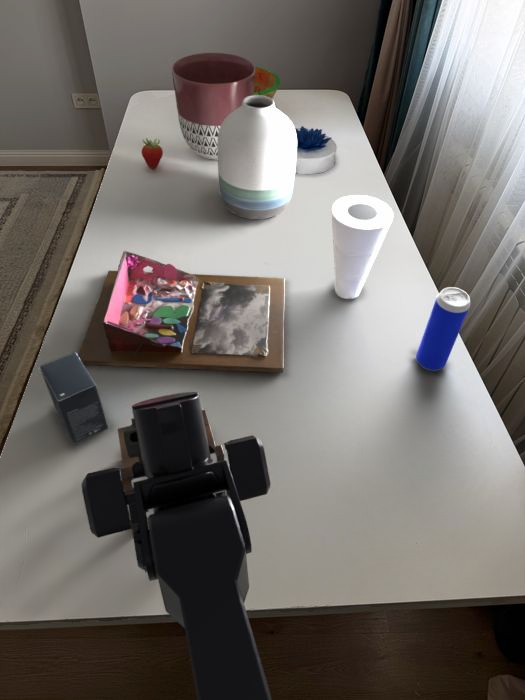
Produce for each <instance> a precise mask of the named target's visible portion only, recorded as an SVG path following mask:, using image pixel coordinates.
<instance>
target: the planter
mask: <svg viewBox="0 0 525 700" xmlns="http://www.w3.org/2000/svg"><path fill="white" fill-rule="evenodd" d="M171 73H172V74H171V75H172V83H173V88H174V95H175V105H176V111H177V117H178V123H179V128H180V131H181V134H182V137H183V139H184V140H185V143H186V144H187V145H188V146H189V148H190V149H191V150H192V151H193V152H195V153H196V154H197V155H199V156H200V157H202V158H204V159H205V158H206V159H209V160H217V161H218V133H219V130H220V127H221V124H222V122H223V121H224V119H225V118H226V117H227V116H228V115H229V114H230V113H231V112H233V111H234V110H236V109H237V108H239V107H241V106H242V102H243V100H244V99H245V98H246V97H248V96H253V95H254V85H255V64H254V63H253V62H252V61H251V60H249V59H247V58H246V57H242V56H239V55H235V54H232V53H225V52H201V53H195V54H194V53H193V54H189V55H187V56H183V57H181V58H179V59H178V60H176V61H175V62H173V65H172V66H171Z"/></svg>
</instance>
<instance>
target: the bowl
mask: <svg viewBox="0 0 525 700" xmlns="http://www.w3.org/2000/svg"><path fill="white" fill-rule="evenodd" d="M254 66H255V65H254ZM280 84H281V79H280V76H279V75H278V74H276V73H275V72H273V71H271V70H269V69H267V68H264V67H261V66H255V85H254V95H262V96H267V97H269V98H271V99H272V100H273V98H274V96H275V94H276V93H277V91H278V89H279V87H280Z"/></svg>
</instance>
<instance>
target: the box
mask: <svg viewBox="0 0 525 700" xmlns="http://www.w3.org/2000/svg"><path fill="white" fill-rule="evenodd" d="M38 369H39V371H40V373H41V375H42V379H43V380H44V383H45V386H46V388H47V391H48V393H49V396H50V399H51V401H52V403H53V406H54V408H55V411H56V413H57V415H58V417H59V419H60V421H61V423H62V425H63V426H64V428H65V430H66V432H67V434H68V436H69V438H70V440H71V441H72V443H73V445H76V444H78V443H80V442H83V441H85V440H88V439H89V438H92V437H94V436H96V435H98V434H100V433H102V432H104V431H107V430H108V429H109V425H108V421H107V418H106V415H105V410H104V408H103V404H102V401H101V397H100V393H99V390H98V386H97V384H96V382H95V381H94V379H93V377H92V375H91V374H90V373H89V371H88V369H87V368H86V365H83V363H82V361H81V360H80V358H79V357H78V352H76V351H74V352H72V353H69V354H66V355H64V356H62V357H59V358H57V359H54V360H53V361H49V362H47V363H44V364H42V365H39V367H38Z"/></svg>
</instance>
